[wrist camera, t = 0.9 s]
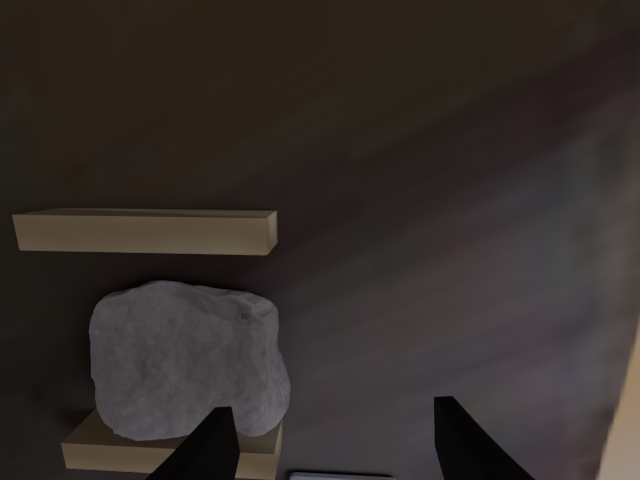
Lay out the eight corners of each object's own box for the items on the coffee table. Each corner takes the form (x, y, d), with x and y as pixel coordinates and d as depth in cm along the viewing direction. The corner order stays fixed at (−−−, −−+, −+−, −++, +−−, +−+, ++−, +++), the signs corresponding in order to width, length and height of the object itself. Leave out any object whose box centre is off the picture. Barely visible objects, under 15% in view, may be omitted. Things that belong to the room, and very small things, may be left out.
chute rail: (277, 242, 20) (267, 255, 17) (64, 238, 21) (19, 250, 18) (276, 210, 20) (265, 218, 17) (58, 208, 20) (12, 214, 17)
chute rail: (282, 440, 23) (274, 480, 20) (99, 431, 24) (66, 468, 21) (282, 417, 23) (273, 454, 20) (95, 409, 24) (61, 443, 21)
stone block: (123, 277, 23) (134, 411, 23) (70, 288, 18) (84, 457, 19) (285, 266, 23) (294, 403, 23) (273, 275, 18) (285, 448, 18)
